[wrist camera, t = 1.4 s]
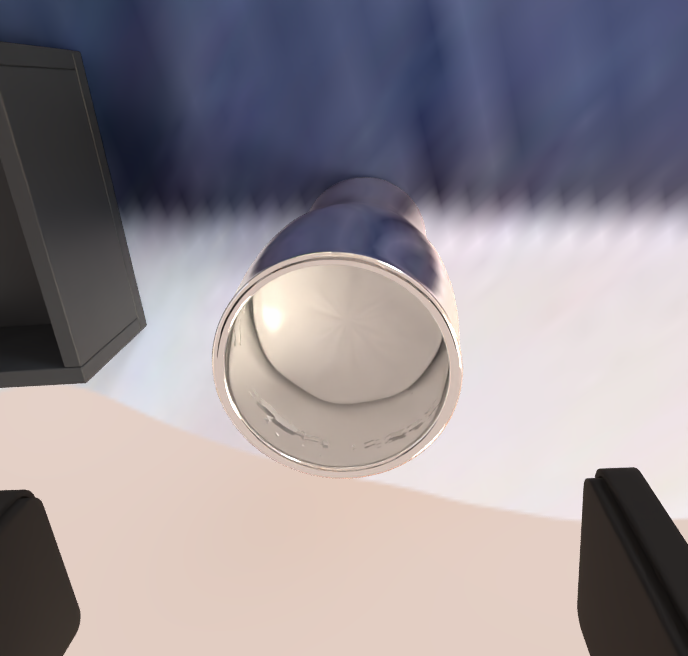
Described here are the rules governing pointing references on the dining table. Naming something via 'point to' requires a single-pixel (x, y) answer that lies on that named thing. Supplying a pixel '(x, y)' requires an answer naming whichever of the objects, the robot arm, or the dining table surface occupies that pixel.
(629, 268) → the dining table surface
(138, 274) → the dining table surface
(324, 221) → the beer glass
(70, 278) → the bin
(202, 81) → the dining table surface
